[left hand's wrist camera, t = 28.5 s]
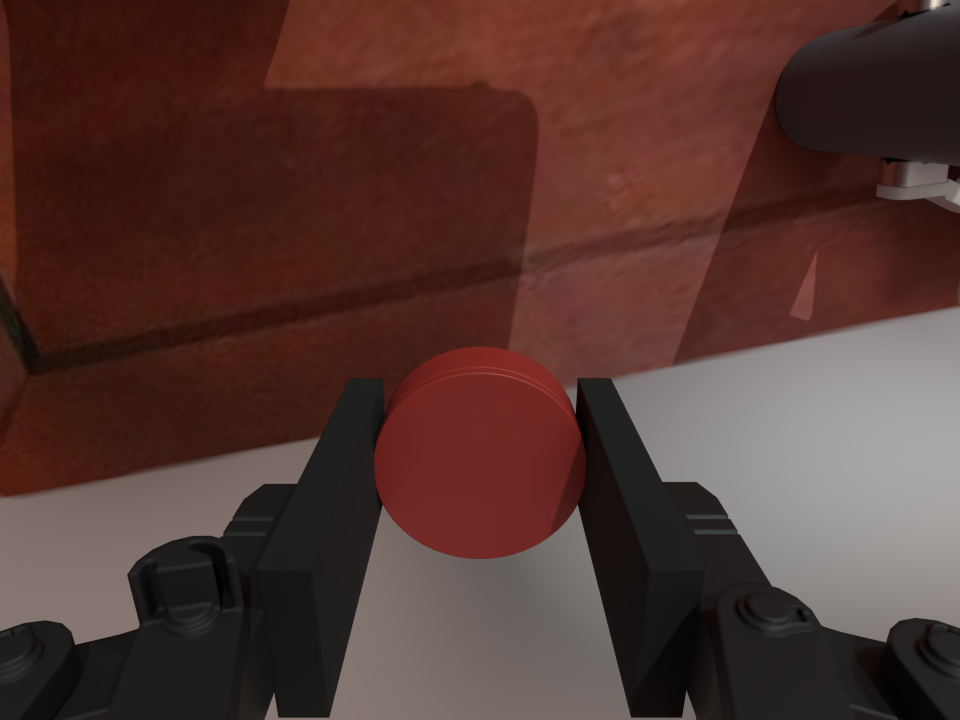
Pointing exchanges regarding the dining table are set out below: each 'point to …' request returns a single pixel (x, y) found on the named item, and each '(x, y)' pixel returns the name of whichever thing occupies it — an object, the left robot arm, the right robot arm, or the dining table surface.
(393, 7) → the dining table surface
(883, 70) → the bottle
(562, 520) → the cap
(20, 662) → the left robot arm
